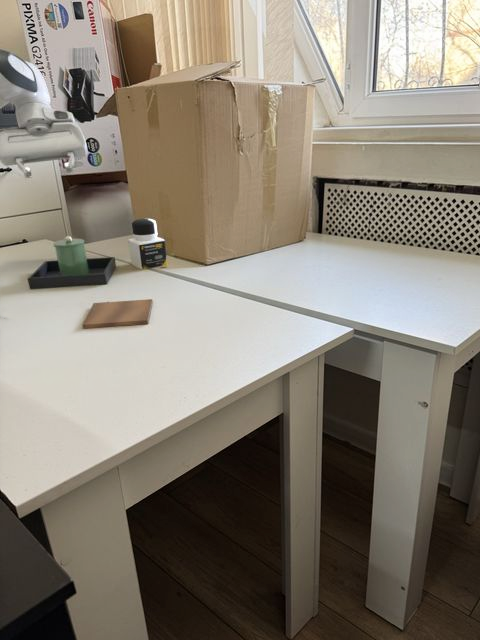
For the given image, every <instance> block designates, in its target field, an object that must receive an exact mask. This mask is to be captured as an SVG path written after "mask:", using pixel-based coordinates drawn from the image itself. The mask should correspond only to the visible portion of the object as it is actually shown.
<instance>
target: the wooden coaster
mask: <svg viewBox="0 0 480 640" xmlns="http://www.w3.org/2000/svg"><path fill="white" fill-rule="evenodd" d="M153 300H154V299H153V298H150V299H135V300H121V301H105V302H104V301H103V302H93V303H92V305H91V307H90V310H89V311H88V313H87V315H86V317H85V318H84V321H83V322H82V324H81V326H82V329H95V328H97V329H98V328H110V327H124V326H125V327H126V326H138V325H139V326H140V325H148V324H149V321H150V316H151V312H152V308H153V304H154V301H153Z"/></svg>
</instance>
